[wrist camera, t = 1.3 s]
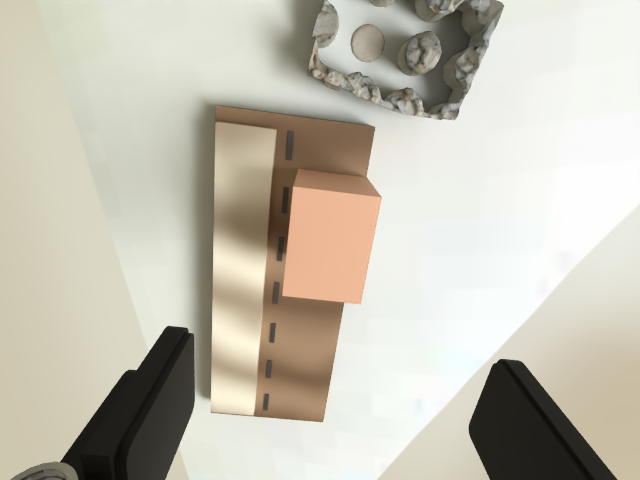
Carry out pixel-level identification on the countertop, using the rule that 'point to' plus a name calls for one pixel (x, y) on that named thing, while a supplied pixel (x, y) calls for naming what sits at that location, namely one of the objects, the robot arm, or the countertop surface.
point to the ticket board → (271, 263)
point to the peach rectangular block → (330, 236)
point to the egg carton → (411, 54)
